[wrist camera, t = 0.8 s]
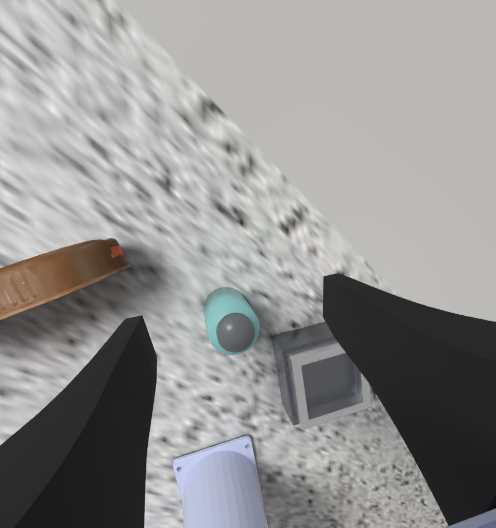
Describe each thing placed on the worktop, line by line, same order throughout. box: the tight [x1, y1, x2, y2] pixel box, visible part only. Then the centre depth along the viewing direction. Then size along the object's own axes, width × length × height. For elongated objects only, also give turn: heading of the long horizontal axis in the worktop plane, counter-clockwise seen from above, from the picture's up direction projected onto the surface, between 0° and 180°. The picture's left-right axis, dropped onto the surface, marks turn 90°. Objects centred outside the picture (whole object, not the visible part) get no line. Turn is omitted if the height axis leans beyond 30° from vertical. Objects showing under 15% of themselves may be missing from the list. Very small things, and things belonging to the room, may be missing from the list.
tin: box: [0, 238, 131, 320], centre depth 18 cm, size 15×3×8 cm, turn 110°
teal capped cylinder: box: [204, 287, 260, 355], centre depth 23 cm, size 4×4×6 cm
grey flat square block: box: [272, 322, 371, 430], centre depth 27 cm, size 8×8×4 cm
